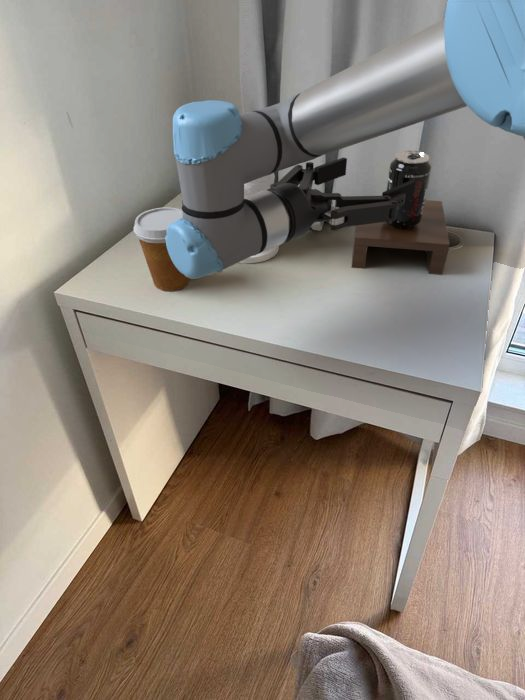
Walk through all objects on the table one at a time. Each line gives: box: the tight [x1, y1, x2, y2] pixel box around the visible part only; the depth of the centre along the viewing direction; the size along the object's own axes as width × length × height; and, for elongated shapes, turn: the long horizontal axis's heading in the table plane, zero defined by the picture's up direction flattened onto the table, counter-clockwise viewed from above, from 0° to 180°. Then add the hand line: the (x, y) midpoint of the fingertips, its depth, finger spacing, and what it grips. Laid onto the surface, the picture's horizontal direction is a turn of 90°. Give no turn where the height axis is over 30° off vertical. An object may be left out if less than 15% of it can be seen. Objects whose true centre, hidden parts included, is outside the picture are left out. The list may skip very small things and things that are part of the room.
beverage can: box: [385, 150, 432, 229], centre depth 87 cm, size 7×7×12 cm
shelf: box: [351, 199, 451, 276], centre depth 94 cm, size 18×16×6 cm
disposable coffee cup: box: [133, 206, 190, 292], centre depth 84 cm, size 10×10×12 cm
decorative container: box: [237, 172, 280, 264], centre depth 91 cm, size 12×12×18 cm
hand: (376, 177), depth 78 cm, fingers open, 13 cm apart
